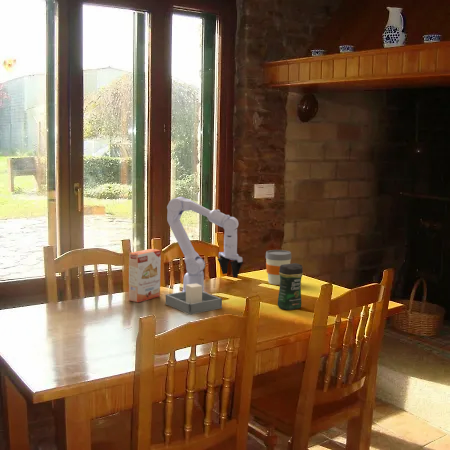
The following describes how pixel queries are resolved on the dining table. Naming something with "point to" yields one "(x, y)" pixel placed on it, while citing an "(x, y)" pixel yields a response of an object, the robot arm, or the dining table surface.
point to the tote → (180, 303)
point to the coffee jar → (290, 286)
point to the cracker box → (144, 275)
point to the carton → (193, 293)
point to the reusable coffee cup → (276, 264)
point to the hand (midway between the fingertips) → (229, 275)
